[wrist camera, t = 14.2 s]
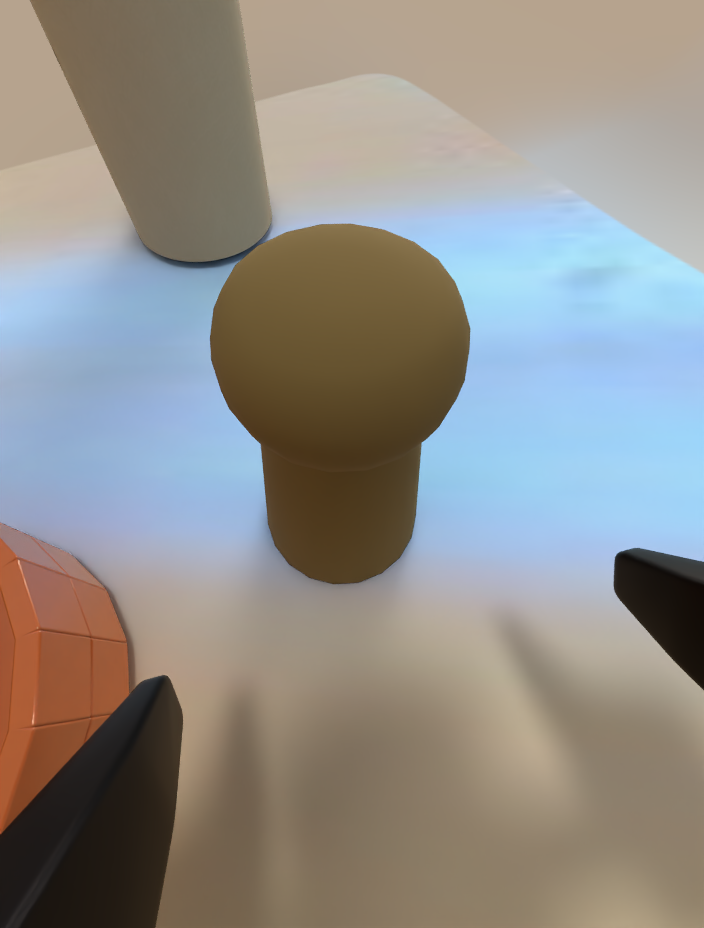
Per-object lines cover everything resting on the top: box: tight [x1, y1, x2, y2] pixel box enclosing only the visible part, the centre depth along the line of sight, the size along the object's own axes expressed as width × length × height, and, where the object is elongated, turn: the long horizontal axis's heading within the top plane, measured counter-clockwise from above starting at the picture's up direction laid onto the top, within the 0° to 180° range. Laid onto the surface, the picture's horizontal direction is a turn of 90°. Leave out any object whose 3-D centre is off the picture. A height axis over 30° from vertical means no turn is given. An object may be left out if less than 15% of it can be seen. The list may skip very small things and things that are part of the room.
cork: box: [210, 224, 470, 584], centre depth 12 cm, size 6×6×11 cm
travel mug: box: [30, 0, 272, 262], centre depth 17 cm, size 8×8×18 cm
